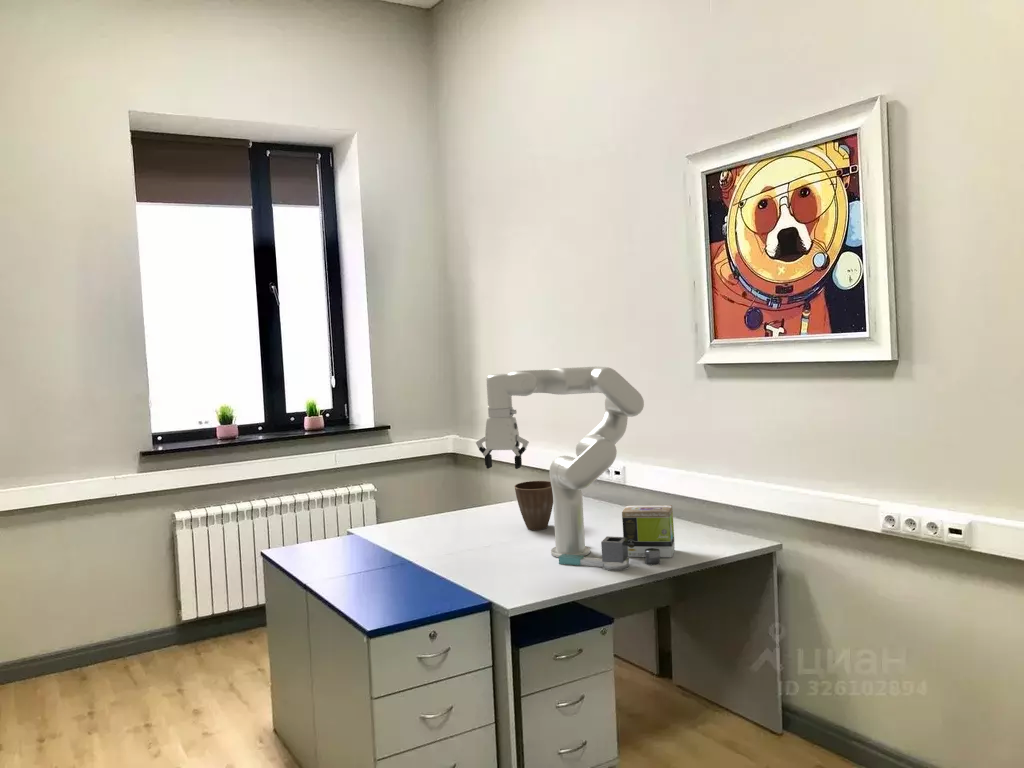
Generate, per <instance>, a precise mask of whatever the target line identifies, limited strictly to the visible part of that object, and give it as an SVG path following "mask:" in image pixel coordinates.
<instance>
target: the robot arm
mask: <svg viewBox="0 0 1024 768" xmlns="http://www.w3.org/2000/svg"><path fill="white" fill-rule="evenodd" d="M596 393H597V394H602V395H604V396H605V400H604V410H605V411H604V415H603V418H602V420H601V421H600V422H599V423H598V424H597V425H596V426H595V427H593V428H592V429H591V431H590V432H588V433H587V434H585V436H583V437H582V438H581V439H580V440H579V441H578V442H577V445H576V447H575V454H576V457H573V456H569V455H560V456H558V457H556V458H554V460H552V462H551V464H550V466H549V480H550V481H549V482H551V486H552V492H553V520H554V522H553V523H554V541H555V546H554V547H553V548H551V550H550V554H551V556H554V557H556V558H559V556H561V555H562V554H570V555H583V556H584V557H585V556H587V555H589V554H590V553H591V549H590V547H589V546H587V545H586V542H585V541H586V540H585V538H586V536H585V522H584V519H585V518H584V503H583V502H584V501H583V491H582V490H584V489H586V488H587V487H590V486H591V485H592V484H593V483H594V482H595V481H596V480H597V479H598V478H600V477H601V475H603V474H604V473H605V472H606V471H607V470H608V469H609V468H610V467H611V466H612V465H613V464H614V462H615V460H616V457H617V453H618V452H617V447H616V444H618V442H619V441H620V440H621V439H622V438H623V437H624V435H625V433H626V430H627V428H628V427H627V425H628V418H629V417H631V418H632V417H636V416H638V415H639V414H641V413H642V411H643V410H644V408H645V400H644V397H643V396H642V394H641V393H640V392H639V390H637V388H635V387H634V386H633V385H632V384H631V383H630V382H629V381H628V380H626V378H624V376H622V374H620V373H619V372H618V371H616V370H615V369H613V368H612V367H607V366H583V367H559V368H556V367H555V368H549V369H533V370H531V369H529V370H513V371H510V372H508V373H492V374H489V375H487V377H486V395H487V399H486V400H487V414H488V415H487V416H488V417H487V418H486V422H485V429H484V430H485V431H484V432H485V433H484V434H485V435H484V437H482V438H481V439H479V440H477V441H476V442H475V444H476V446H477V448H478V450H479V451H480V453H481V454H482V456H483V457H484V465H485V467H486V468H485V469H487V470H488V469H491V468H492V467H493V459H492V454H491V452H492V451H512V452H513V453H514V468H515V469H516V470H519V469H520V468H521V467H522V465H523V464H522V455H523V453H525V452H526V451H527V448H528V447H529V443H530V442H529V441H528V440H527V439H526V438H523V437H521V436H520V433H519V428H518V427H519V426H518V422H517V419H516V417H515V416H514V415H517V409H514V407H513V399H512V396H513V397H514V396H516V397H517V396H518V397H520V396H521V397H527V396H531V395H532V394H552V395H561V396H562V395H579V394H596ZM483 443H485V446H484V445H483ZM521 444H522V445H521ZM520 445H521V448H520Z"/></svg>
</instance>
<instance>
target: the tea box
mask: <svg viewBox="0 0 1024 768" xmlns="http://www.w3.org/2000/svg"><path fill="white" fill-rule="evenodd" d="M621 517H622V535H623V536H622V537H627V543H628V558H630V557H631V558H645V550H646V549H649V548H656V549H659V550H660V558H672V557H673V555H674V552H675V548H676V547H675V529H674V513H673V504H672V505H671V504H668V505H667V504H665V505H664V504H659V505H658V504H657V505H656V504H655V505H653V504H652V505H651V504H650V505H639V504H638V505H637V504H636V505H626V506H625V507H624V508H623V510H622V512H621Z"/></svg>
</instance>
